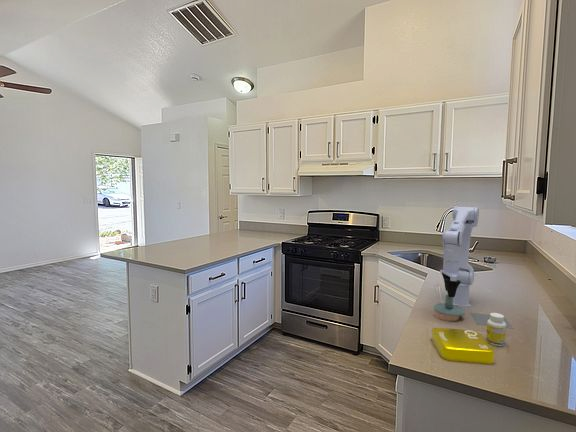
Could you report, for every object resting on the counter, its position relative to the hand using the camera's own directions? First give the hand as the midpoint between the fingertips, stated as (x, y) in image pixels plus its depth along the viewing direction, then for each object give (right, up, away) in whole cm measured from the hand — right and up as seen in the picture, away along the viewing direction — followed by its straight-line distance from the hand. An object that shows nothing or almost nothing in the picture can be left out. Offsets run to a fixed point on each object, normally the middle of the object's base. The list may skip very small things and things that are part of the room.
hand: (449, 293), depth 129 cm
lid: (0, -7, 0) cm, 7 cm away
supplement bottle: (+5, -12, -20) cm, 24 cm away
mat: (+14, -10, -4) cm, 18 cm away
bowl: (-1, -10, +1) cm, 10 cm away
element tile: (-9, -13, -25) cm, 29 cm away
